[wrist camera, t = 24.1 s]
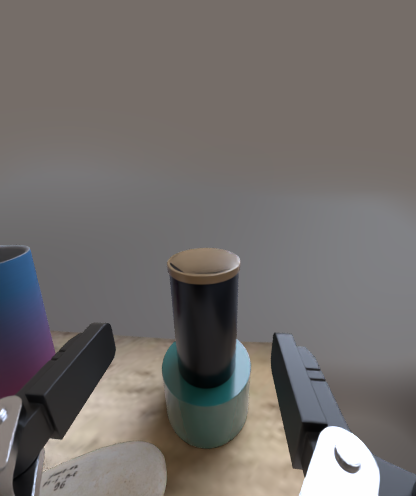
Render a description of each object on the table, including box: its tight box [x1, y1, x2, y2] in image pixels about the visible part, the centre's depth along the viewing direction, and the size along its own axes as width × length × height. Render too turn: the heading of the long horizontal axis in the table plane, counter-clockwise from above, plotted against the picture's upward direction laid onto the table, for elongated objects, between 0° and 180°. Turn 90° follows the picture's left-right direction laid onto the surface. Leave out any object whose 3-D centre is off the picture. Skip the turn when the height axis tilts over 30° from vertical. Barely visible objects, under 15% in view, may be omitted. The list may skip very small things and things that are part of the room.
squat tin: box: [162, 339, 251, 448], centre depth 19 cm, size 8×8×5 cm
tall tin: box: [167, 248, 240, 389], centre depth 17 cm, size 5×5×10 cm
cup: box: [0, 245, 56, 399], centre depth 19 cm, size 7×7×15 cm
